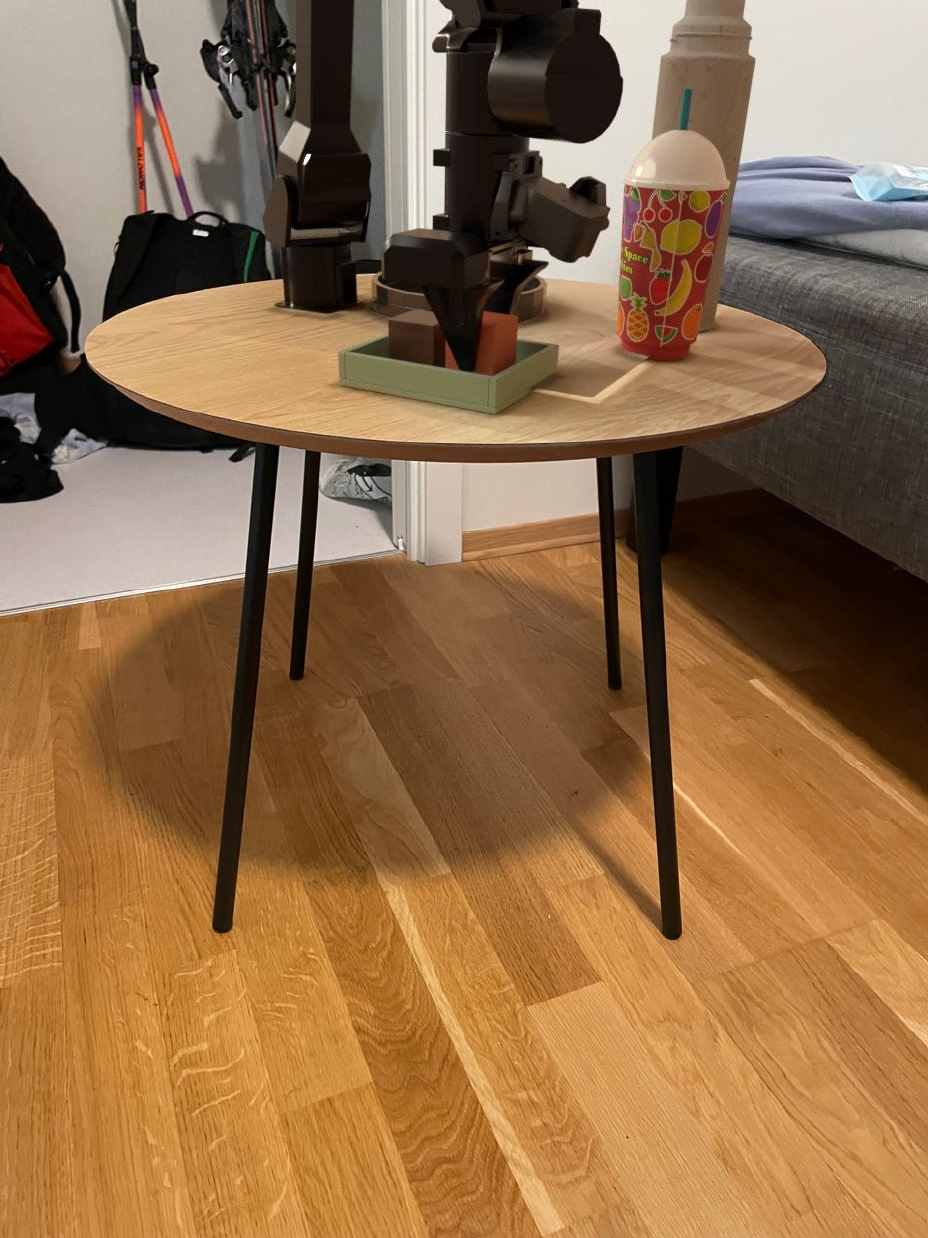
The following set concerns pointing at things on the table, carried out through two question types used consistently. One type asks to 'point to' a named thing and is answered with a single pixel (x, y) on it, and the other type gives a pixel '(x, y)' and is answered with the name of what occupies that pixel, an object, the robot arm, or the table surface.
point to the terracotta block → (493, 345)
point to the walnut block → (417, 338)
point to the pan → (409, 296)
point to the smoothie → (669, 240)
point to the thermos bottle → (710, 99)
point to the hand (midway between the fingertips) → (479, 364)
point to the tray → (446, 376)
